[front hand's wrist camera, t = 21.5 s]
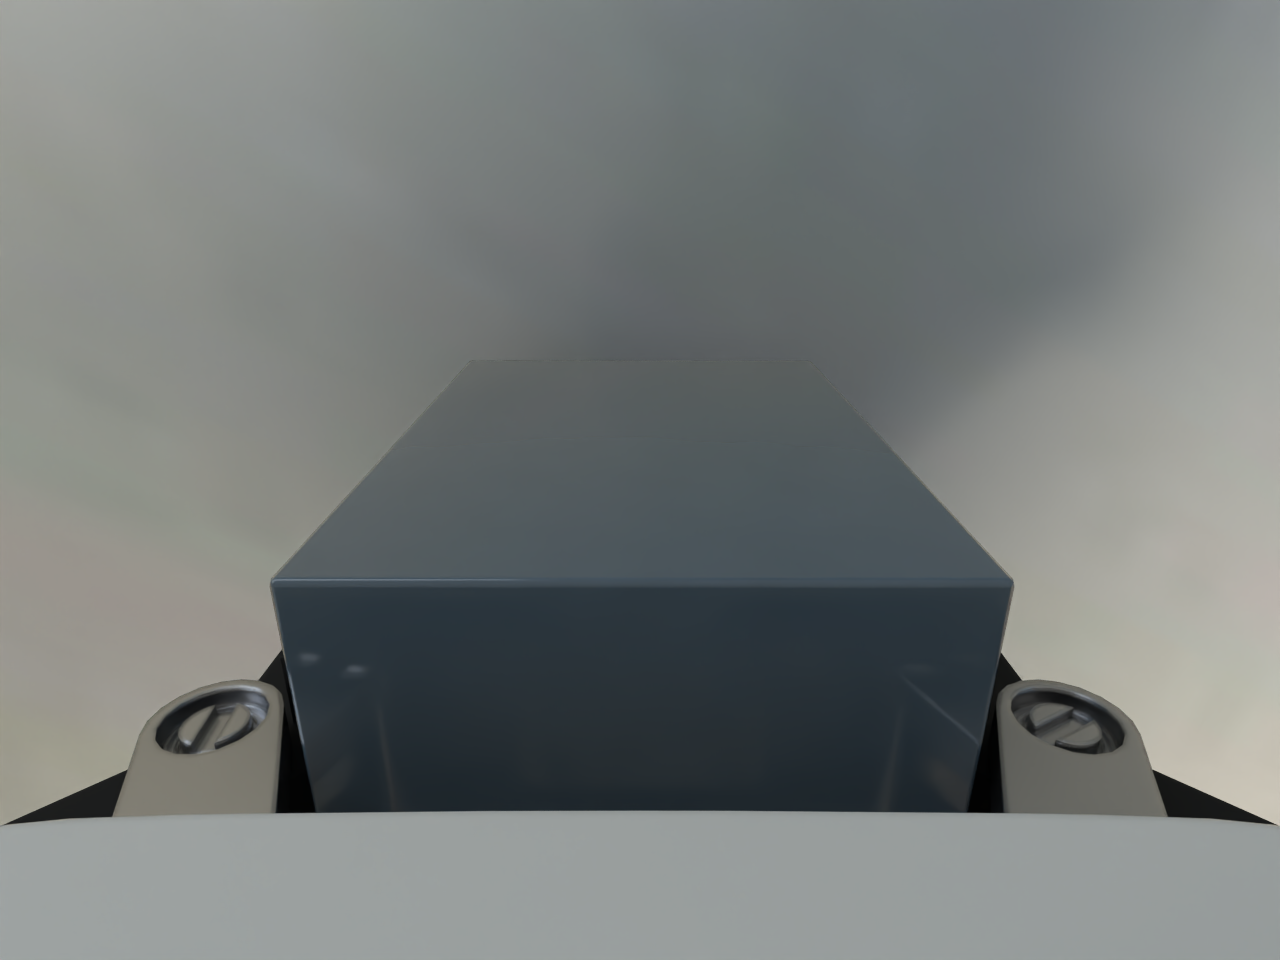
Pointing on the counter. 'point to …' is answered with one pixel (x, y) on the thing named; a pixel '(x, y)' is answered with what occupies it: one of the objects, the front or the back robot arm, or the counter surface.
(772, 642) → the brick
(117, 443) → the counter surface
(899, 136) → the counter surface
